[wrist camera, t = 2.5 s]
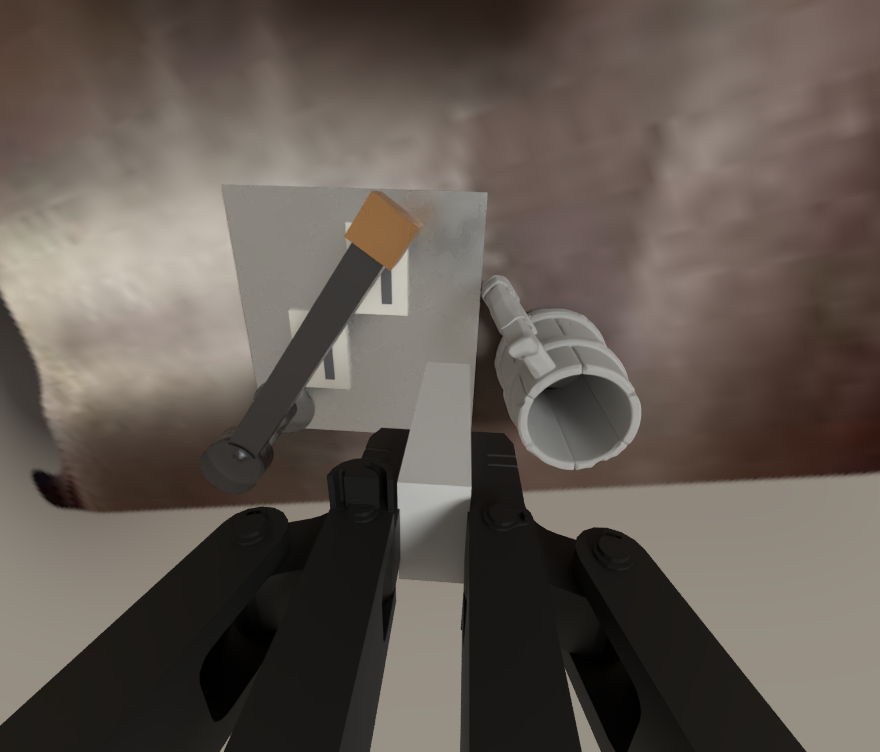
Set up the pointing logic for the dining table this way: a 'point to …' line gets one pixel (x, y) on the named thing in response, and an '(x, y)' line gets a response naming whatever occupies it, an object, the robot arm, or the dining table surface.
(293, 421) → the grey metal knob
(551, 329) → the mug
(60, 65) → the dining table surface
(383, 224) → the grey lever orange grip
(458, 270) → the plate
